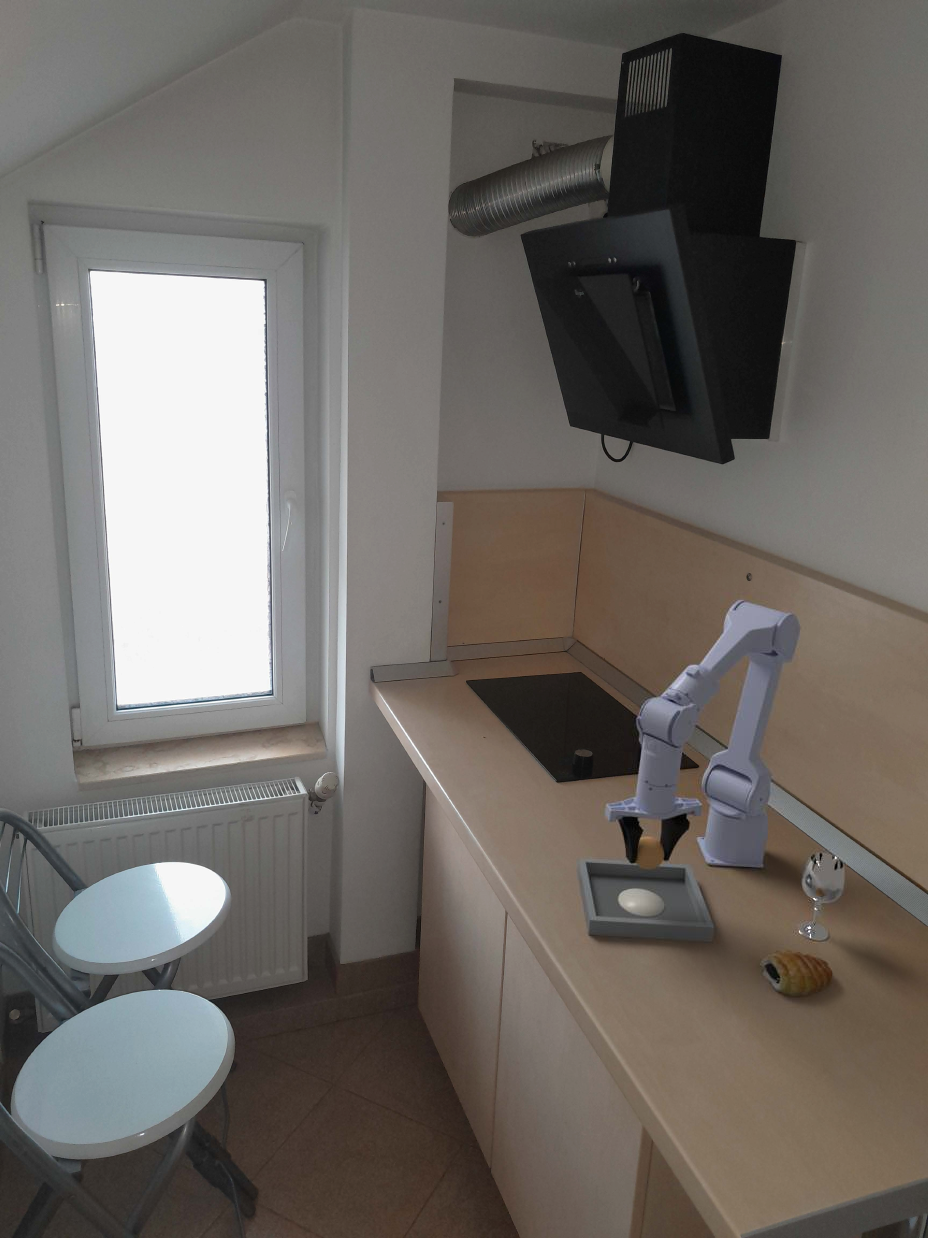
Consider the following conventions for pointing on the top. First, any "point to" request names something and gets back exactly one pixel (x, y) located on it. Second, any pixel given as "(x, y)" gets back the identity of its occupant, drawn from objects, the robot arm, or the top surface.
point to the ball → (649, 853)
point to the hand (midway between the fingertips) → (647, 858)
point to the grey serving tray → (643, 901)
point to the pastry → (796, 973)
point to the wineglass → (821, 889)
